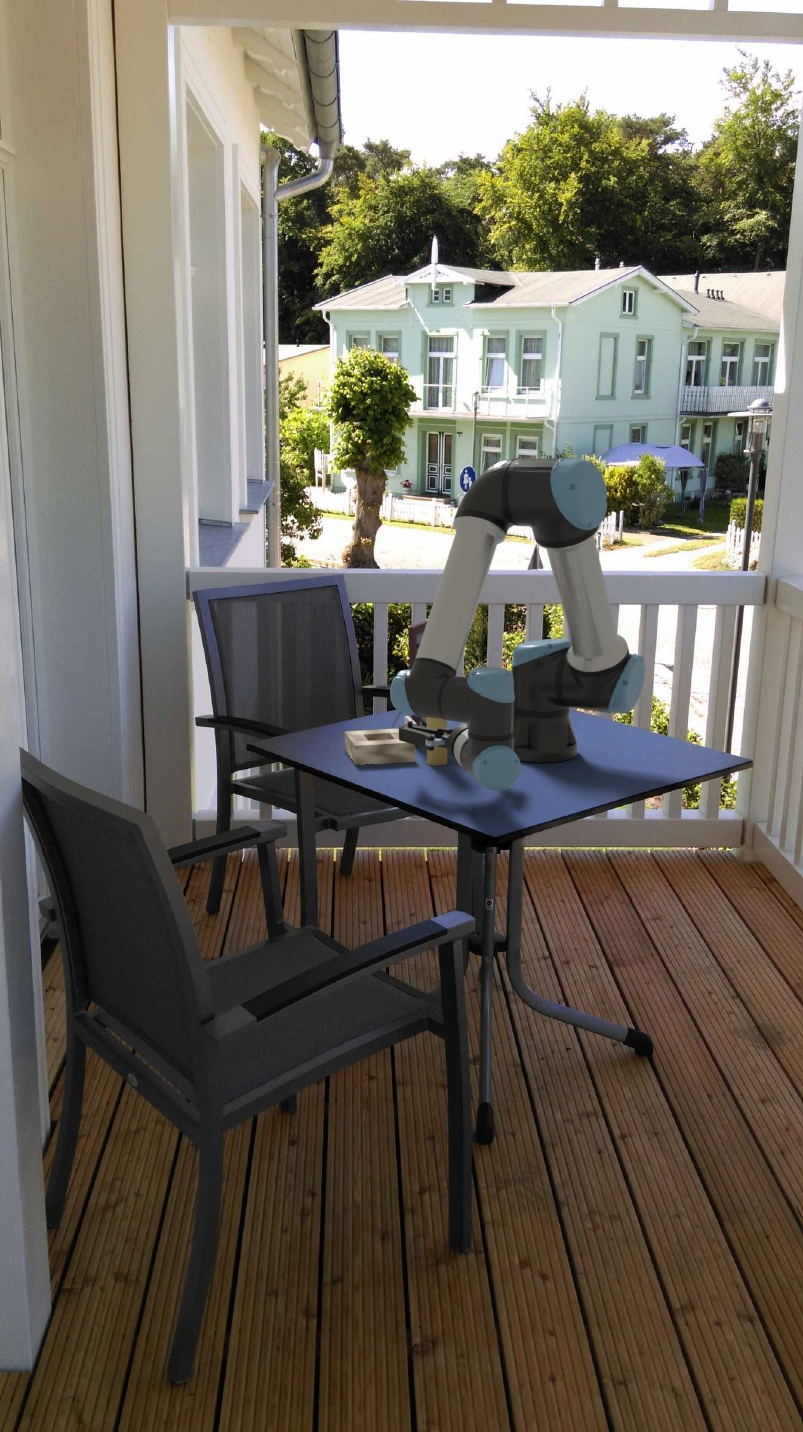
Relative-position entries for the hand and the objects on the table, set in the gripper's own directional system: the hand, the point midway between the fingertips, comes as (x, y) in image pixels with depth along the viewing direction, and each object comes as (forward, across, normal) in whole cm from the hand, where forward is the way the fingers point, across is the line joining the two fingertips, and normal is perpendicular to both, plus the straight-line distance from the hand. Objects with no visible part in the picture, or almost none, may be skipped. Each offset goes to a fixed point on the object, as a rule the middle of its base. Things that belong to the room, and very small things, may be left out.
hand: (440, 720), depth 222 cm
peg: (+6, +1, -10) cm, 11 cm away
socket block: (+14, -9, -10) cm, 19 cm away
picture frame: (+28, +1, -10) cm, 30 cm away
